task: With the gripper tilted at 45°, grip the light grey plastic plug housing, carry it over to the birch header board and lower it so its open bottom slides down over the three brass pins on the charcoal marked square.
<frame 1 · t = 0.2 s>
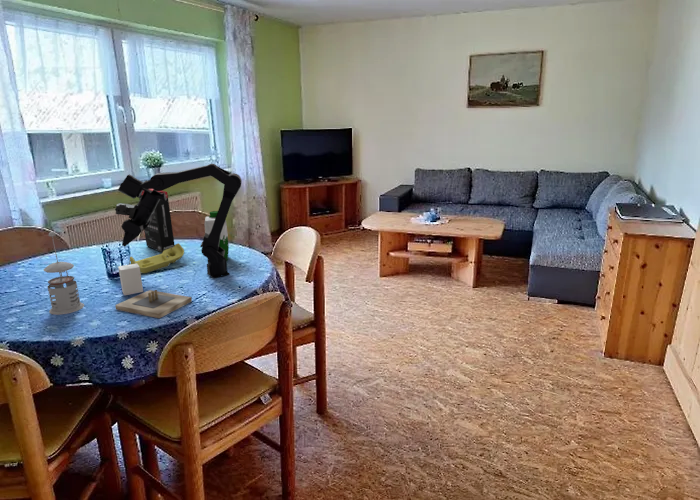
hand: (126, 242, 168), 15 cm above the table, tool tilted 35°, fingers open, 9 cm apart
graphics card box: (160, 249, 214), on the table
french press: (67, 307, 149), on the table
plug housing: (132, 291, 162), on the table
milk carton: (219, 260, 196), on the table
plastic component: (159, 267, 189), on the table
header board: (154, 305, 149), on the table
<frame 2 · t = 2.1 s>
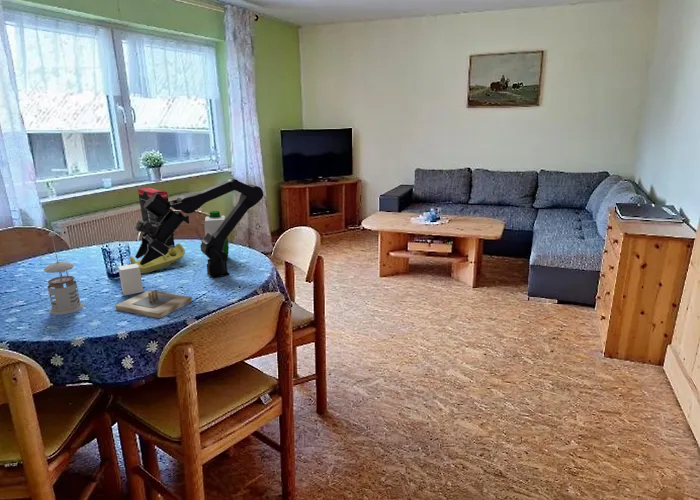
hand: (138, 261, 161), 10 cm above the table, tool tilted 45°, fingers open, 9 cm apart
nothing on the table moved.
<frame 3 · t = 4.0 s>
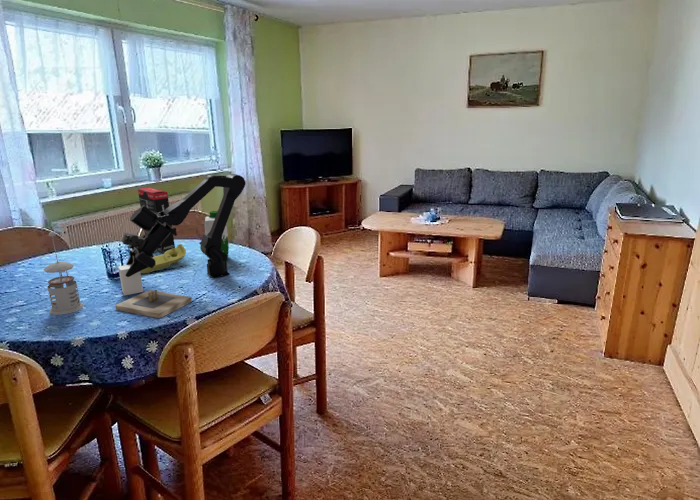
hand: (125, 274, 159), 7 cm above the table, tool tilted 45°, fingers closed on plug housing, 5 cm apart
plug housing: (132, 291, 162), on the table, touching gripper
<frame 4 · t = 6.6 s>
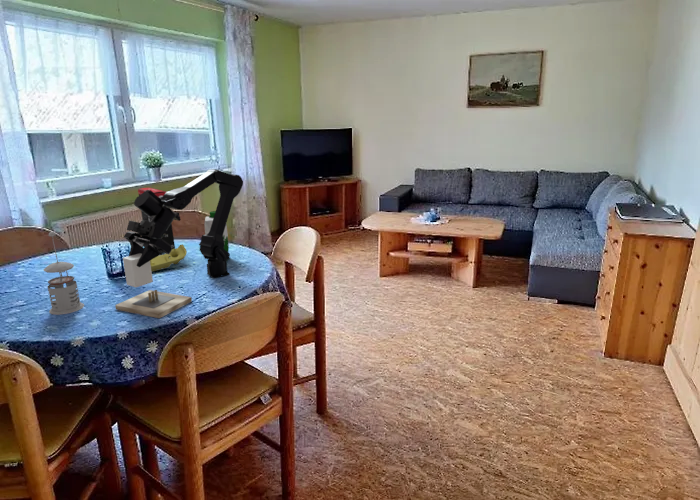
hand: (133, 265, 148), 13 cm above the table, tool tilted 45°, fingers closed on plug housing, 5 cm apart
plug housing: (140, 283, 151), point 6 cm above the table, touching gripper
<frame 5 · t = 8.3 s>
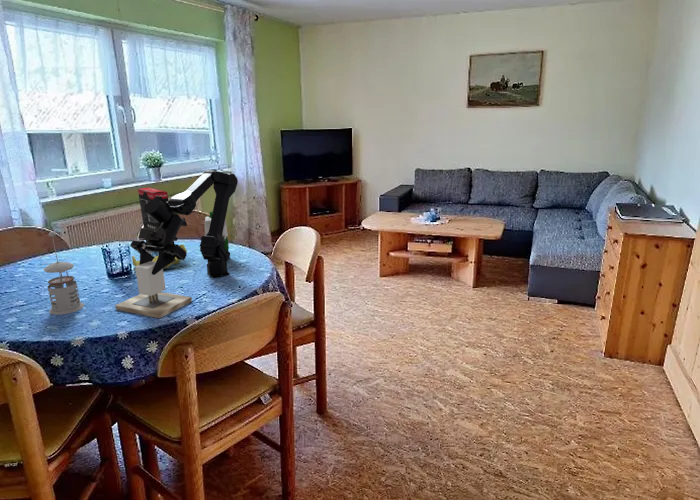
hand: (146, 273, 145), 11 cm above the table, tool tilted 45°, fingers closed on plug housing, 5 cm apart
plug housing: (152, 291, 148), point 5 cm above the table, touching gripper
when the fingers open (9 cm above the table, at t = 9.4 s): plug housing stays where it is, resting on header board.
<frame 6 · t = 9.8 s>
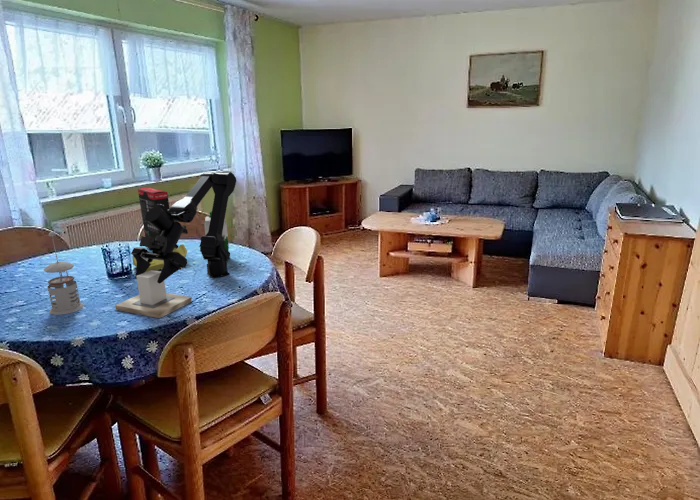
hand: (147, 281, 146), 9 cm above the table, tool tilted 45°, fingers open, 9 cm apart
plug housing: (153, 300, 149), point 2 cm above the table, touching header board
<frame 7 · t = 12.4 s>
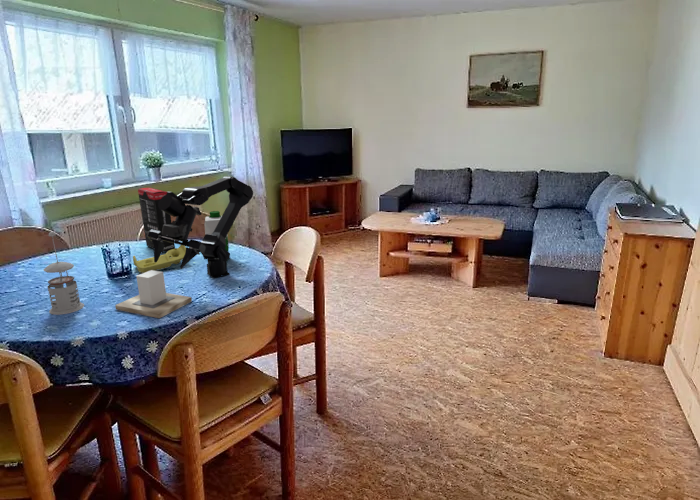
hand: (167, 265, 156), 10 cm above the table, tool tilted 35°, fingers open, 9 cm apart
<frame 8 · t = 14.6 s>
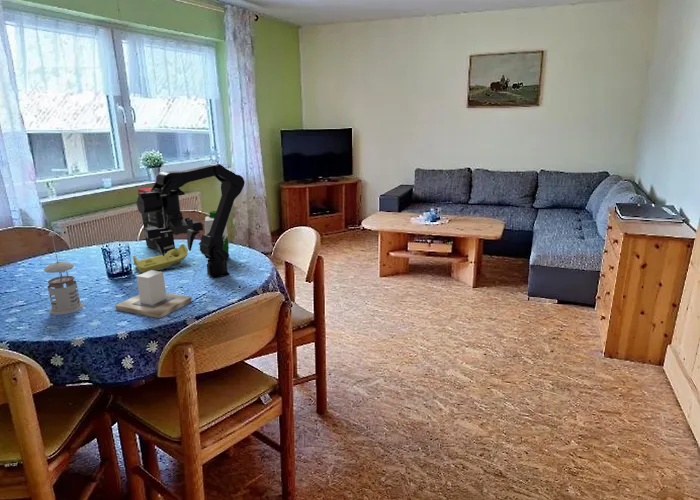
hand: (176, 253, 164), 12 cm above the table, tool pointing down, fingers open, 9 cm apart
at the end: plug housing 0.0 cm off-centre on the header board, point 1.7 cm above the header board's base; plug housing tilted 0°; the gripper is holding nothing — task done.
